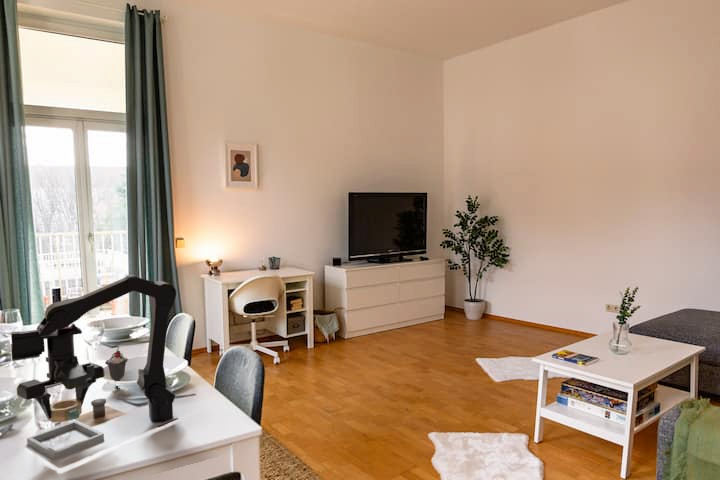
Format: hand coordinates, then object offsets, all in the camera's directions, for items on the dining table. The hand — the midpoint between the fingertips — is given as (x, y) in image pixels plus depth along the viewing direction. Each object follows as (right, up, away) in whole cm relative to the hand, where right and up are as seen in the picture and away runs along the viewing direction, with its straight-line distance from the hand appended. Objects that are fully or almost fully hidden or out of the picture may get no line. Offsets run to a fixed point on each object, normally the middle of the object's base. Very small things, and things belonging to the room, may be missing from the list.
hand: (64, 413), depth 127 cm
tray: (0, -9, +1) cm, 9 cm away
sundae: (-4, -6, +37) cm, 38 cm away
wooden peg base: (+1, -7, +16) cm, 17 cm away
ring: (0, -1, 0) cm, 1 cm away
